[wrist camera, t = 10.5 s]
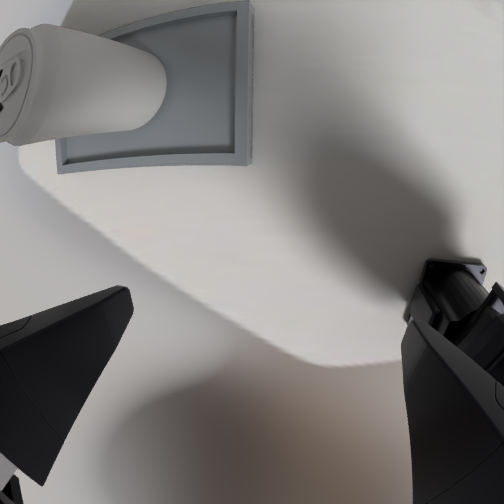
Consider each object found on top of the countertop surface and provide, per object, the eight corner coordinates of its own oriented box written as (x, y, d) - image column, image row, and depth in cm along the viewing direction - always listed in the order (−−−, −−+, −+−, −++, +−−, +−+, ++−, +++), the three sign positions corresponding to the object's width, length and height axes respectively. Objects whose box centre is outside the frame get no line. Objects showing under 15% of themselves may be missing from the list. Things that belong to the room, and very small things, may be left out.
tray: (253, 8, 14) (249, 0, 13) (252, 163, 19) (246, 165, 18) (69, 55, 18) (58, 54, 16) (69, 171, 22) (57, 174, 21)
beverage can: (100, 72, 17) (-21, 66, 7) (165, 40, 16) (42, -6, 5) (111, 140, 20) (-17, 168, 9) (179, 116, 18) (42, 117, 7)
